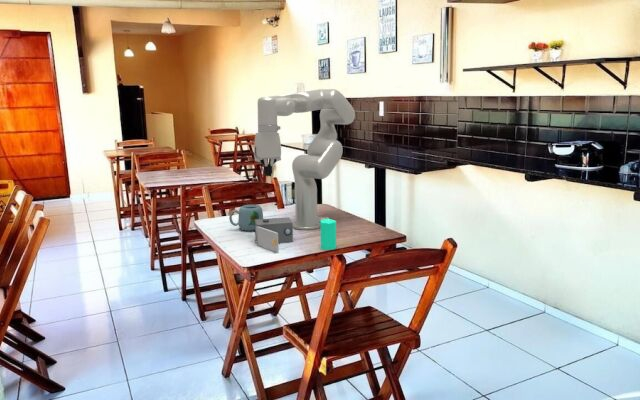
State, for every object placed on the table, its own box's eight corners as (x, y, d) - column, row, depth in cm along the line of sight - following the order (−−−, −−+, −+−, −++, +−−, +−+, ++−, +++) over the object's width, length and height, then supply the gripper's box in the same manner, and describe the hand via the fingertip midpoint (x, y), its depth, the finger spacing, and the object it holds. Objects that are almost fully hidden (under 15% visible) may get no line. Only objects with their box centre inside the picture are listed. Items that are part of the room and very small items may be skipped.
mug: (233, 234, 221) (232, 211, 219) (226, 228, 231) (225, 206, 229) (267, 230, 227) (266, 207, 224) (259, 224, 236) (259, 202, 234)
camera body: (289, 236, 217) (288, 215, 215) (293, 242, 208) (292, 220, 206) (255, 238, 214) (254, 217, 212) (257, 244, 205) (257, 223, 203)
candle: (320, 245, 204) (319, 215, 201) (335, 244, 204) (335, 215, 202) (321, 250, 198) (321, 219, 195) (337, 249, 198) (337, 218, 196)
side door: (278, 251, 195) (278, 232, 194) (275, 252, 194) (274, 233, 193) (258, 243, 205) (257, 225, 204) (255, 244, 204) (254, 226, 203)
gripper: (281, 128, 212) (282, 173, 215) (246, 129, 206) (247, 175, 209) (288, 129, 205) (289, 176, 209) (252, 130, 199) (253, 178, 202)
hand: (268, 175), depth 209 cm, fingers closed
